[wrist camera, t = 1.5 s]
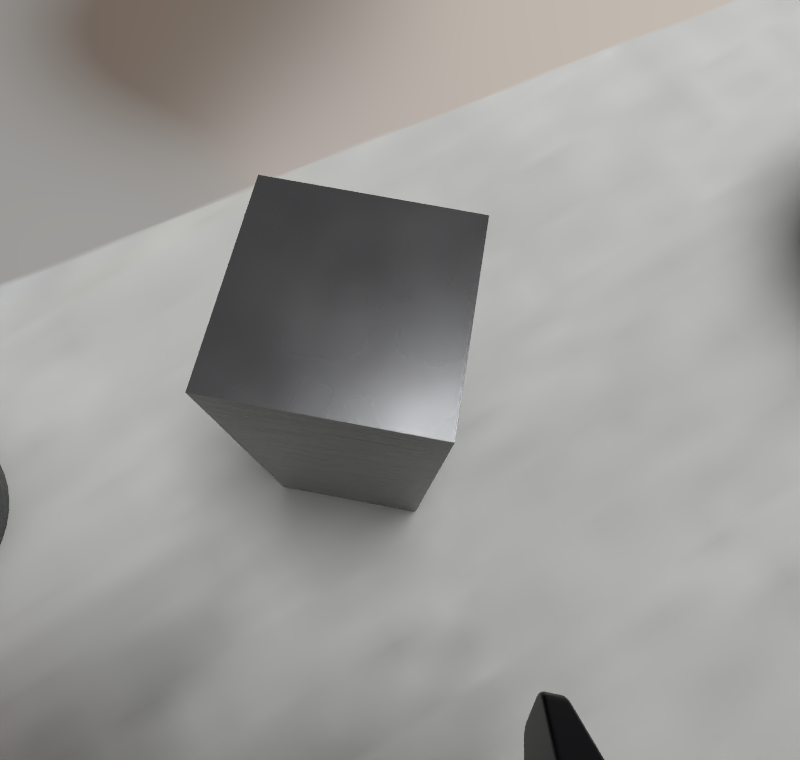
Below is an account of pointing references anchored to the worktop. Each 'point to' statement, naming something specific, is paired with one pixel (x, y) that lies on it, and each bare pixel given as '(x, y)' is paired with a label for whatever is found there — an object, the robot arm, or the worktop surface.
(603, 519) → the worktop surface
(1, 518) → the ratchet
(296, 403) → the brushed metal block
